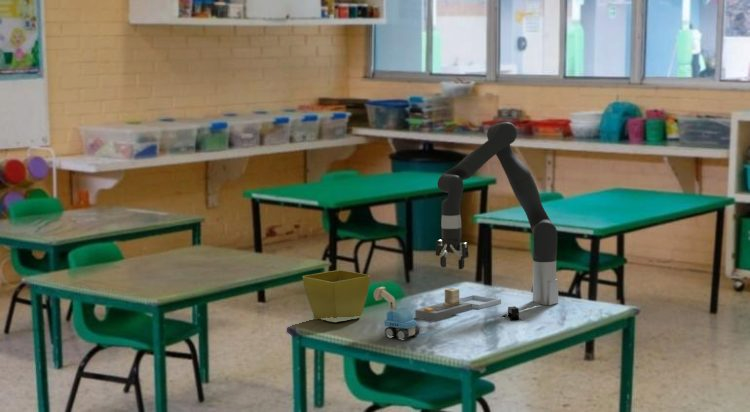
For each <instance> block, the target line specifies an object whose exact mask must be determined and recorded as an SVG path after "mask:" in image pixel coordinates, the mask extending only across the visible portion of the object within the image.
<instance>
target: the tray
mask: <svg viewBox="0 0 750 412" xmlns="http://www.w3.org/2000/svg"><path fill="white" fill-rule="evenodd" d="M459 302H464V303H470V304H472V309H476V310H482V309H486V308H490V307H493V306H496V305H500V304H502V298H496V297H490V296H484V295H477V294H471V295H467V296H463V297H459Z"/></svg>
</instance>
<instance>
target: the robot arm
mask: <svg viewBox="0 0 750 412" xmlns="http://www.w3.org/2000/svg"><path fill="white" fill-rule="evenodd" d="M486 131H487V132H486V137H487V141H485V142H483V144H481V145H480V146H478V147H477V148H476V149H474V150H472V151H471V152H470V153H469V154H467V155H466V156H465V157H463V159H462V160H461V161H460V162H459V163H458V164H456V165H455V166H453V167H451V168H450V169H448V170H446V171H444V173H442V174H440V177H438V179H437V183H436V184H437V185H436V186H437V188H438V190H439V191H440V192H441V193H447V198H445V199H443V200H442V202H441V221H440V222H441V238H442V239H438V240H436V241H435V255H436V256H438V257H439V258H440V260H439V261H440V267H441V268H446V267H447V257H446V256H447V255H448V254H449V253H451V254H454V255H455V256H456V257H457V258H458V263H457V264H458V270H464V268H465V259H467V258H469V244H468V242H466V241H465V242H462V241H461V239H462V218H461V203H462V202H461V201H462V197H463V193H464V181H465V180H469V179H470V178H472V177H473V176H474V175H475V174H476V173H477V172H478V171H479V170H480V169H481V168H482V167H483V166H484V165H485V164H486V163H487V162H488V161H490V160H491V159H492V158H493V157H494V156H496V157H497V159H498V160H499V163H500V165H501V167H502V169H503V172H504V174H505V175H506V177H507V180H508V182H509V184H510V187H511V189H512V192H513V194H514V196H515V197H516V199H517V201H518V203H519V204H520V206H521V207H522V209H523V211H524V213H525V214H526V217H527V220H528V223H529V226H530V230H531V233H532V236H533V251H532V252H533V253H532V302H533V303H536V304H539V305H540V306H552V305H556V304H559V279H557V254H558V230H557V228H556V226H555V224H554V223H553V222H552V220H551V219H550V218H549V216H548V214H547V212H546V210H545V208H544V207H543V204H542V200H541V196H540V191H539V189H538V187H537V184H536V182H535V179H534V177H533V175H532V172H531V171H530V170H529V168H528V167H527V165H525V164H524V162H523V161H521V160H520V159H519V158H518V157H517V155H516V154H515V152H514V150H513V148H512V146H511V144H513V143H515V141H516V138H517V137H518V136H517V135H518V131H517V127H516V126H515V125H514V124H513V123H512V122H509V121H502V122H499V123H496V124H493V125H490V127H489V128H488V129H487V130H486Z"/></svg>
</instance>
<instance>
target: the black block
mask: <svg viewBox="0 0 750 412" xmlns="http://www.w3.org/2000/svg"><path fill="white" fill-rule="evenodd" d="M519 309H520V308H519V307H517V306H515V305H514V306H507V315H502V317H503V318H505V319H507V320H508V321H510V322H515V321H516V322H517V321H518V322H519V321H525V319H524V318H522V317H520V310H519Z"/></svg>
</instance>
